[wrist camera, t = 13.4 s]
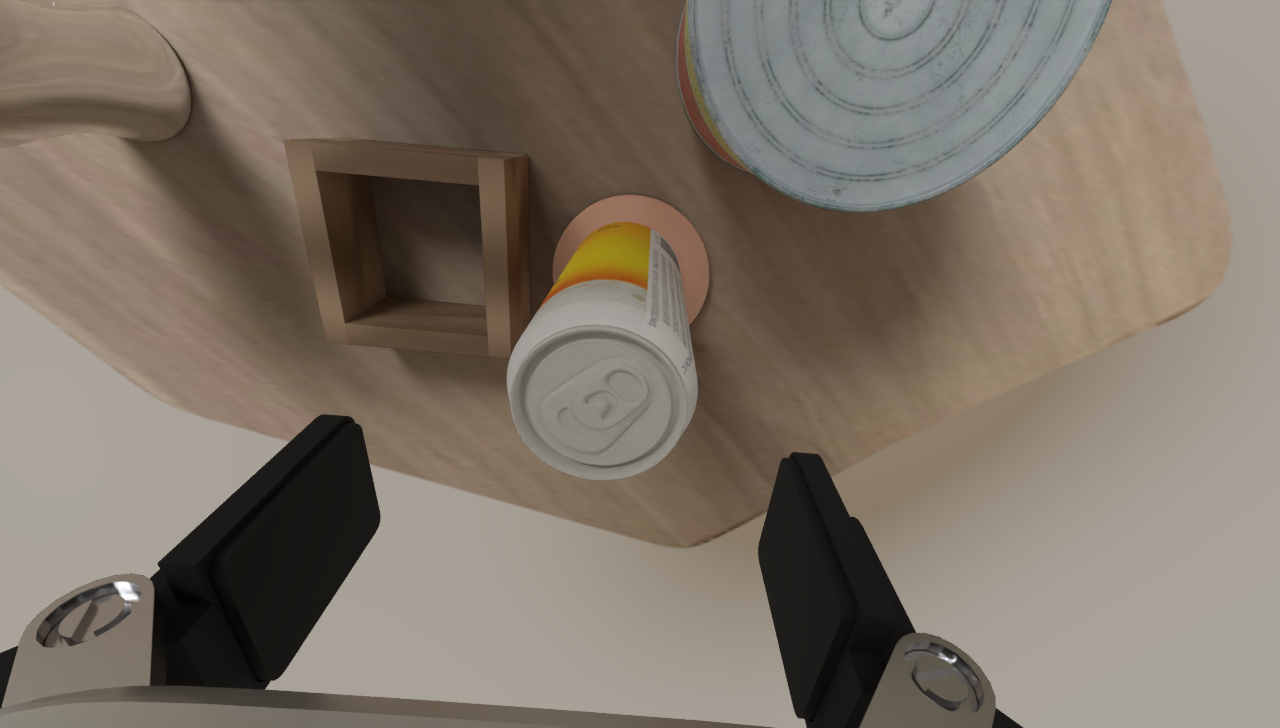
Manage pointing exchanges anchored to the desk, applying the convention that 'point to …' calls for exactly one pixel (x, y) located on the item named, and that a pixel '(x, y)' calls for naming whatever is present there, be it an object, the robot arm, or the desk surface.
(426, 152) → the can holder
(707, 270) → the peach flat disc
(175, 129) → the beer glass
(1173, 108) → the desk surface
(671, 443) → the beer can
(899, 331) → the desk surface
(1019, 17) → the canned food
